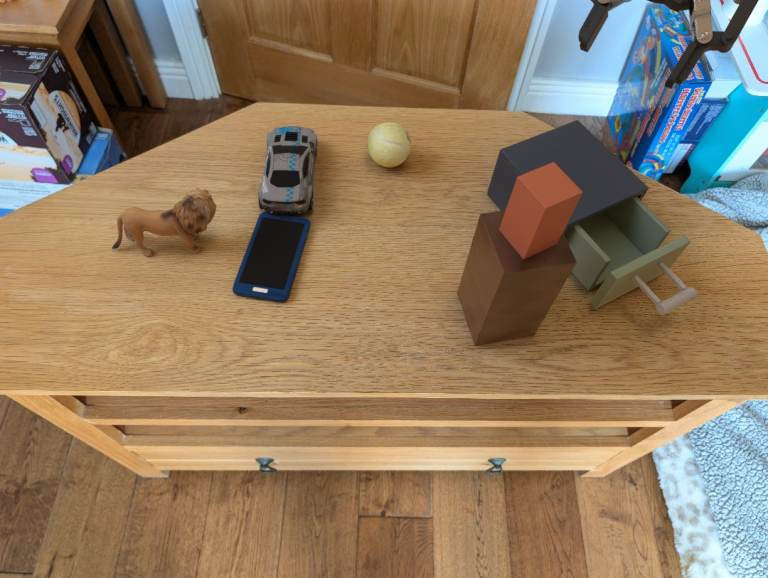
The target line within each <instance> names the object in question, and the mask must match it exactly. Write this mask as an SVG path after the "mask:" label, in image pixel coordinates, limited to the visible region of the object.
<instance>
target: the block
mask: <svg viewBox="0 0 768 578" xmlns="http://www.w3.org/2000/svg"><path fill="white" fill-rule="evenodd" d="M582 193H583V192H582V191H581V190H580V189H579V188H578V186H577V185H576V184H575V183H574V182H573V181H572V180H571V179H570V178H569V177H568V176H567V175H566V174H565V173H564V172H563V171H562V170H561V169H560V168H559V167H558V166H557V165H556V164H555V163H554V162H552V163H550V164H548V165H545V166H543V167H540V168H538V169H535V170H533V171H530V172H528V173H525V174H523V175H520V176H518V177H517V180H516V182H515V185H514V188H513V191H512V194H511V197H510V200H509V202H508V205H507V208H506V211H505V214H504V217H503V220H502V222H501V225H500V228H499V231H500V232H501V233H502V234H503V236H504V237H505V238H506V239H507V240H508V242H509V243H510V244H511V245H512V246H513V248H514V249H515V250H516V251H517V252H518V254H519V255H520V256H521V257H522V259H523V260H524V259H526V258H528V257H530V256H533V255H535V254H537V253H539V252H541V251H543V250H545V249H548V248H550V247H552V246H554V245H556V244H557V243H558V241H559V239H560V237H561V235H562V233H563V231H564V229H565V227H566V225H567V223H568V221H569V219H570V217H571V215H572V213H573V211H574V209H575V207H576V205H577V203H578V201H579V199H580V197H581V195H582Z"/></svg>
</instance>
